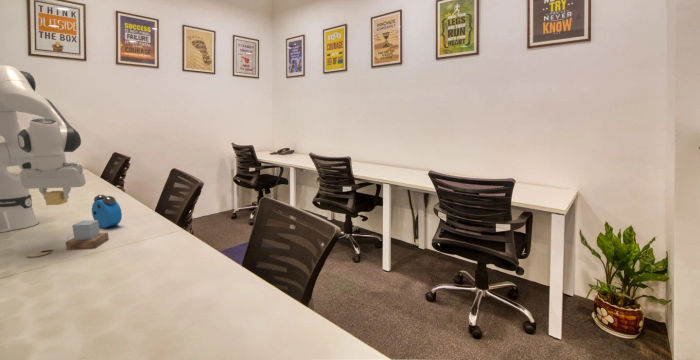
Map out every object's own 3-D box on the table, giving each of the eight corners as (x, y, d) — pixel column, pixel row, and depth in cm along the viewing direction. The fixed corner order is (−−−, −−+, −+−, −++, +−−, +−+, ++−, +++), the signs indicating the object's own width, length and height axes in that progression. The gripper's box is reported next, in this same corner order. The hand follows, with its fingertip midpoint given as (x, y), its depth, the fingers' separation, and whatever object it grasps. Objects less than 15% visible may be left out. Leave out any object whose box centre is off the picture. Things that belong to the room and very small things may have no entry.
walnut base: (66, 249, 133) (65, 242, 133) (82, 240, 143) (81, 233, 142) (95, 248, 135) (94, 240, 134) (108, 239, 144) (107, 232, 144)
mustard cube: (46, 205, 128) (44, 193, 128) (54, 202, 133) (53, 190, 132) (59, 204, 129) (57, 193, 128) (67, 201, 133) (65, 190, 133)
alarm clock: (123, 226, 161) (119, 195, 158) (109, 230, 155) (105, 198, 152) (106, 223, 166) (102, 192, 163) (92, 226, 161) (88, 195, 158)
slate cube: (74, 240, 135) (72, 225, 134) (83, 234, 141) (81, 220, 140) (91, 239, 136) (89, 224, 135) (99, 234, 142) (97, 220, 141)
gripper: (86, 161, 133) (91, 196, 135) (27, 162, 130) (33, 198, 133) (75, 163, 126) (81, 200, 129) (13, 164, 124) (20, 202, 126)
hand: (56, 199), depth 131 cm, fingers closed on mustard cube, 4 cm apart
